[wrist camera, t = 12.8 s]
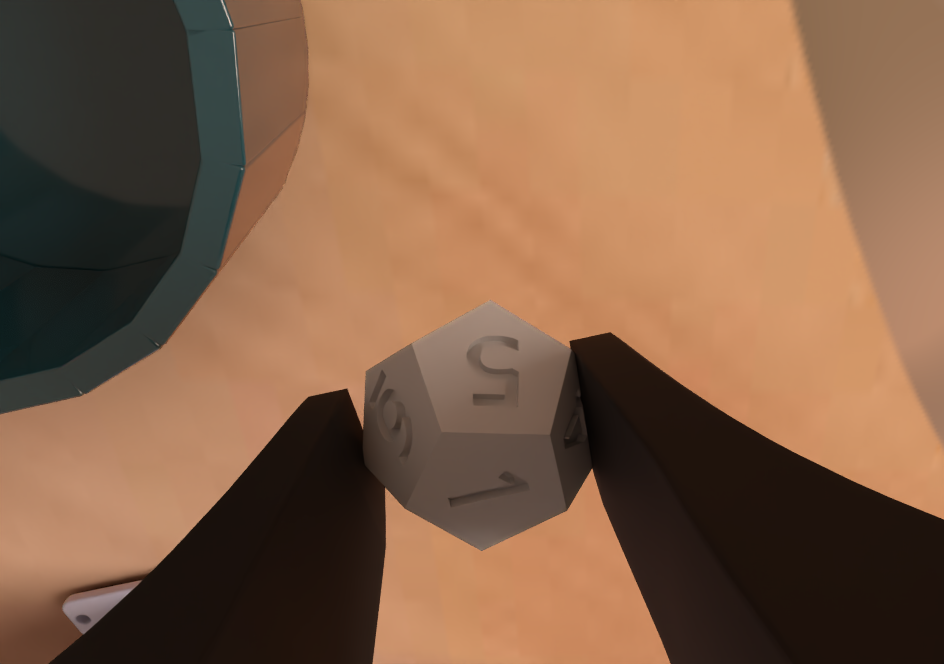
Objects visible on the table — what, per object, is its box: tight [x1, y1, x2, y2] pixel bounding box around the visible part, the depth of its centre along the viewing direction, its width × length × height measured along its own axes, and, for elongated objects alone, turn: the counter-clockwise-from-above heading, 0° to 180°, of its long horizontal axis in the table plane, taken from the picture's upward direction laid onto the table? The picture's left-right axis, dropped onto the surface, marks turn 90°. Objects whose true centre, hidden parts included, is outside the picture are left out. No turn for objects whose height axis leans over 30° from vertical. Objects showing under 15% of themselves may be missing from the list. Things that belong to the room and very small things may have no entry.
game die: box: [363, 300, 593, 551], centre depth 9 cm, size 4×4×3 cm
